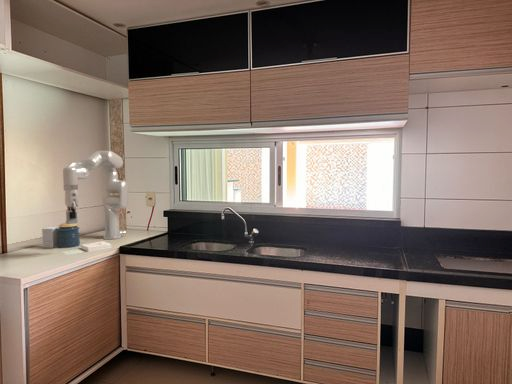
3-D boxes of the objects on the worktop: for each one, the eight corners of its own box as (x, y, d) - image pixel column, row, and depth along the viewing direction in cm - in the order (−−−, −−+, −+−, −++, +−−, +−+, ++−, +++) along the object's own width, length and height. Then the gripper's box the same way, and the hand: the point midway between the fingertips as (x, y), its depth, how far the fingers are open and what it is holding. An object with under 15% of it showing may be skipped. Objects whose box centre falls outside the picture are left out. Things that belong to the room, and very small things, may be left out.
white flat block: (103, 245, 228) (103, 241, 228) (111, 248, 220) (111, 244, 220) (81, 249, 218) (81, 244, 218) (88, 252, 210) (88, 247, 210)
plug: (75, 222, 211) (74, 209, 211) (77, 223, 209) (76, 210, 208) (66, 223, 208) (66, 210, 207) (68, 224, 205) (68, 210, 205)
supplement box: (60, 245, 229) (60, 226, 229) (53, 248, 222) (52, 228, 221) (50, 245, 230) (49, 226, 229) (42, 247, 223) (41, 228, 222)
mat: (78, 250, 216) (78, 249, 216) (84, 252, 209) (84, 251, 209) (61, 252, 209) (61, 252, 209) (66, 255, 202) (66, 254, 202)
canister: (68, 249, 218) (67, 221, 217) (52, 248, 222) (51, 221, 221) (84, 245, 230) (83, 219, 229) (69, 243, 234) (68, 218, 233)
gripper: (82, 188, 204) (83, 218, 205) (72, 187, 215) (73, 216, 216) (68, 188, 198) (69, 220, 199) (59, 187, 210) (60, 217, 211)
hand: (71, 217), depth 208 cm, fingers closed on plug, 3 cm apart
